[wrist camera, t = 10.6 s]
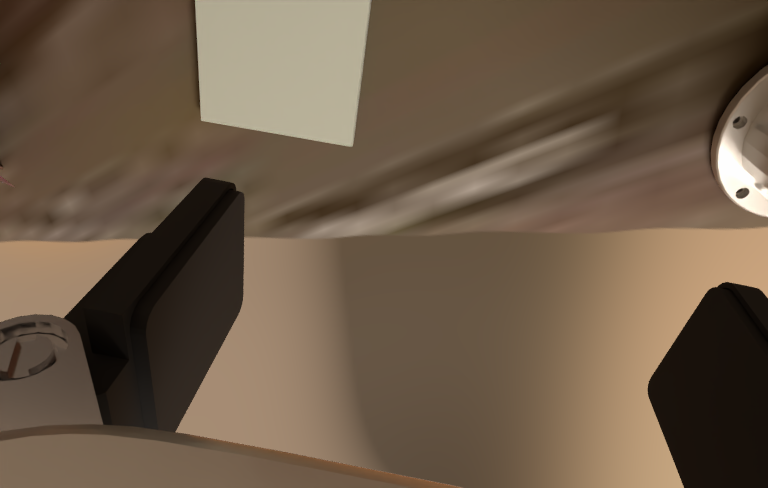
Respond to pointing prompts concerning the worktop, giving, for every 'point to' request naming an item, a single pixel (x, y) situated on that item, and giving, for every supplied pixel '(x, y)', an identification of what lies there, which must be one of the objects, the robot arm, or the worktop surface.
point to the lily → (4, 179)
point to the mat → (283, 65)
